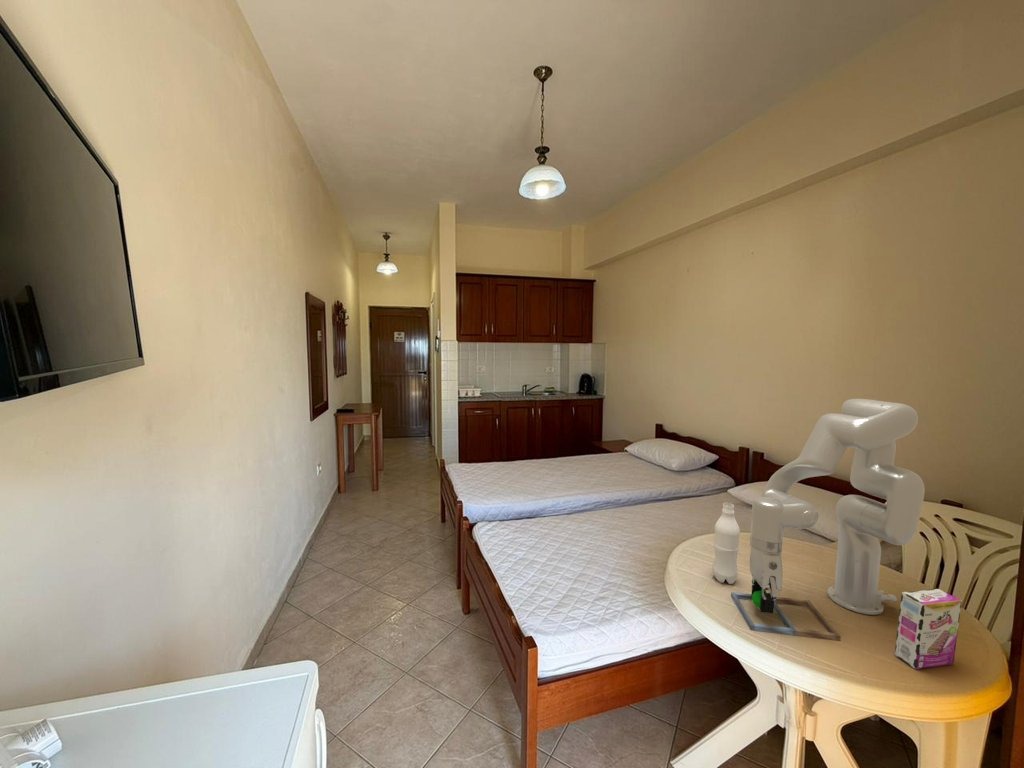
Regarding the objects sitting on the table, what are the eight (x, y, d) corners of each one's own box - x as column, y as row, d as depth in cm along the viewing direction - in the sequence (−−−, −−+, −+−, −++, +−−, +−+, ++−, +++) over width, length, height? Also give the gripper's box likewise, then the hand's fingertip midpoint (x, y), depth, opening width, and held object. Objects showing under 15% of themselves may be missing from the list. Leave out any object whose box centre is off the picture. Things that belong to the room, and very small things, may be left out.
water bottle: (735, 588, 125) (739, 510, 123) (709, 580, 129) (713, 505, 127) (738, 578, 131) (743, 503, 128) (714, 571, 135) (718, 498, 133)
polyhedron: (753, 600, 116) (754, 584, 116) (773, 607, 113) (774, 591, 113) (750, 608, 113) (751, 592, 112) (770, 616, 109) (771, 599, 109)
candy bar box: (917, 671, 93) (923, 604, 92) (893, 655, 98) (899, 591, 97) (956, 665, 95) (963, 599, 93) (931, 650, 100) (937, 587, 98)
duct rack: (808, 604, 118) (809, 600, 117) (840, 640, 103) (840, 636, 103) (730, 595, 121) (731, 592, 121) (750, 629, 107) (750, 625, 107)
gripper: (796, 560, 102) (792, 628, 104) (767, 530, 119) (763, 589, 120) (764, 557, 104) (760, 624, 105) (739, 528, 120) (736, 586, 122)
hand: (762, 605), depth 113 cm, fingers closed on polyhedron, 5 cm apart
